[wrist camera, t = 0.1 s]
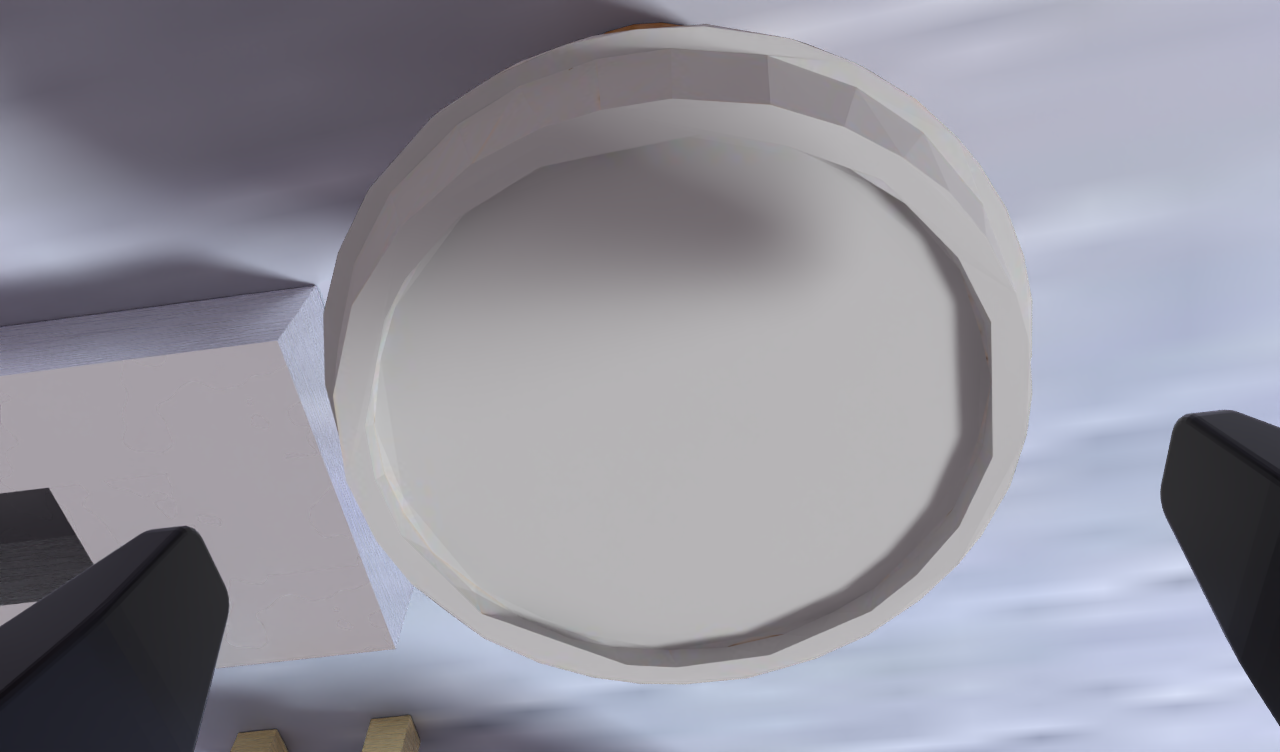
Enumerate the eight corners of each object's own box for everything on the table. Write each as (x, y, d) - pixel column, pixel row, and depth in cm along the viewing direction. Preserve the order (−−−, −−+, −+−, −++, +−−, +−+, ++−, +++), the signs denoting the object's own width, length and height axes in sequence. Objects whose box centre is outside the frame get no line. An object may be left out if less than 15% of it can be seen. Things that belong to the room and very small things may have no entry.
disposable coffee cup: (370, 100, 21) (117, 350, 10) (729, -157, 18) (869, -168, 8) (600, 395, 25) (582, 785, 14) (917, 218, 22) (1172, 533, 12)
